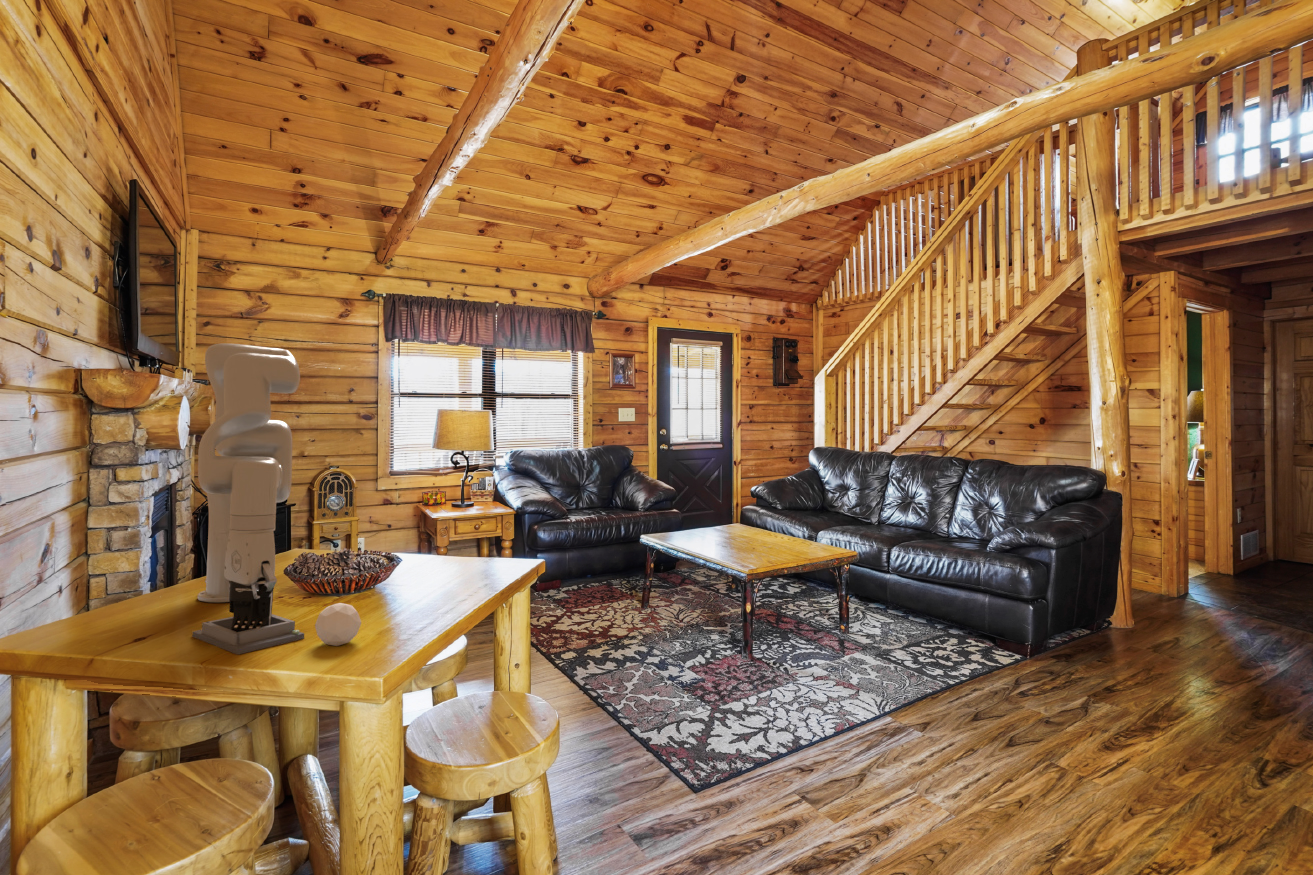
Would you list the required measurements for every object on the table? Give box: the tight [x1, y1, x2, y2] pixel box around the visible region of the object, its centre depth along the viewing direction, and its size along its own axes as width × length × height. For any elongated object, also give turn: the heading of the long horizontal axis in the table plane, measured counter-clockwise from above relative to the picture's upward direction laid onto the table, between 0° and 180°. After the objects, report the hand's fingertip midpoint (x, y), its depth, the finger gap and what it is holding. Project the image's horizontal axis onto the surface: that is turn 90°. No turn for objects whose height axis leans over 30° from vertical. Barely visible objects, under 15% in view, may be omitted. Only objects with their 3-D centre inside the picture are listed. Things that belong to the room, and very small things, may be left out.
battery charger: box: [229, 578, 274, 632], centre depth 125 cm, size 7×4×11 cm, turn 91°
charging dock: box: [191, 613, 305, 655], centre depth 125 cm, size 17×12×3 cm
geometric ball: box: [314, 602, 362, 647], centre depth 124 cm, size 8×8×8 cm
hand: (249, 614), depth 125 cm, fingers closed on battery charger, 7 cm apart
